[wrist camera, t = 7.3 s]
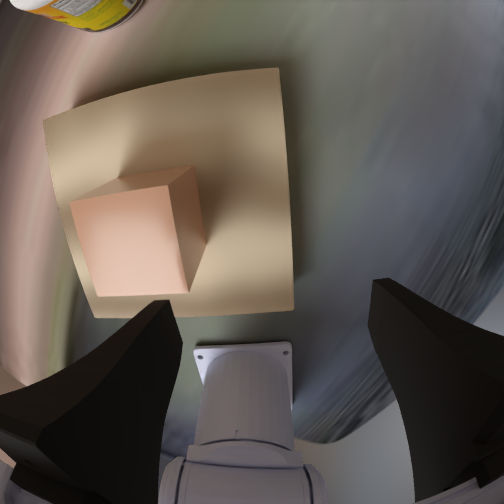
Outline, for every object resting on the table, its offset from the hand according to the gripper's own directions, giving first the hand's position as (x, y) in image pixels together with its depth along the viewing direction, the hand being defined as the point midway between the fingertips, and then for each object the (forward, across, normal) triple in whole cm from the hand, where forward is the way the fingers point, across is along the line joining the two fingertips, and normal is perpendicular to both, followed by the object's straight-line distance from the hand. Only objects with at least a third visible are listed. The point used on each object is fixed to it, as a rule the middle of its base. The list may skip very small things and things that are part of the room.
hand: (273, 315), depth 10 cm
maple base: (+10, +6, -2) cm, 12 cm away
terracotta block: (+7, +6, -2) cm, 9 cm away
